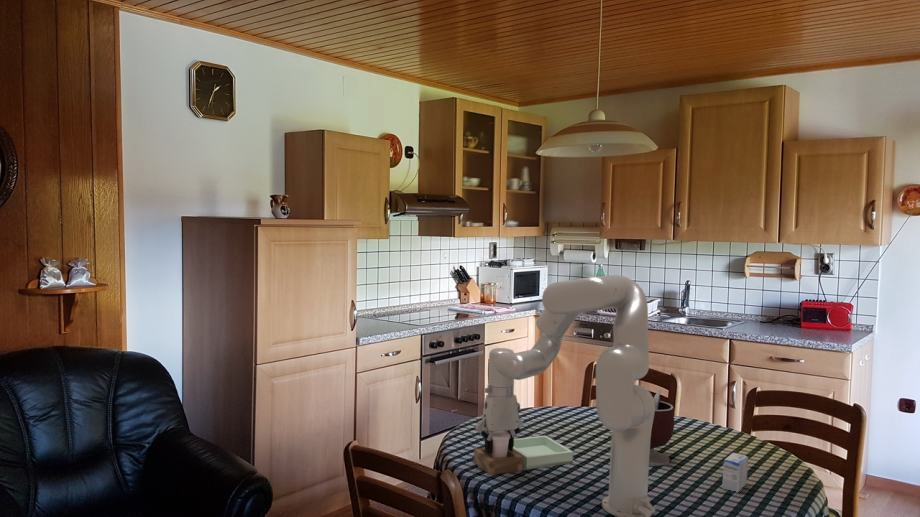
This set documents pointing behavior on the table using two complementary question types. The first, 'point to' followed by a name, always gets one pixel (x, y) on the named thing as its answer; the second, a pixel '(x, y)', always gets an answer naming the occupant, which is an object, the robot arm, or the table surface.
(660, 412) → the mate gourd
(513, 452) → the socket block
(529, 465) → the tray
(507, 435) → the smoothie
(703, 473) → the table surface
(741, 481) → the medicine box
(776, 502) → the table surface
